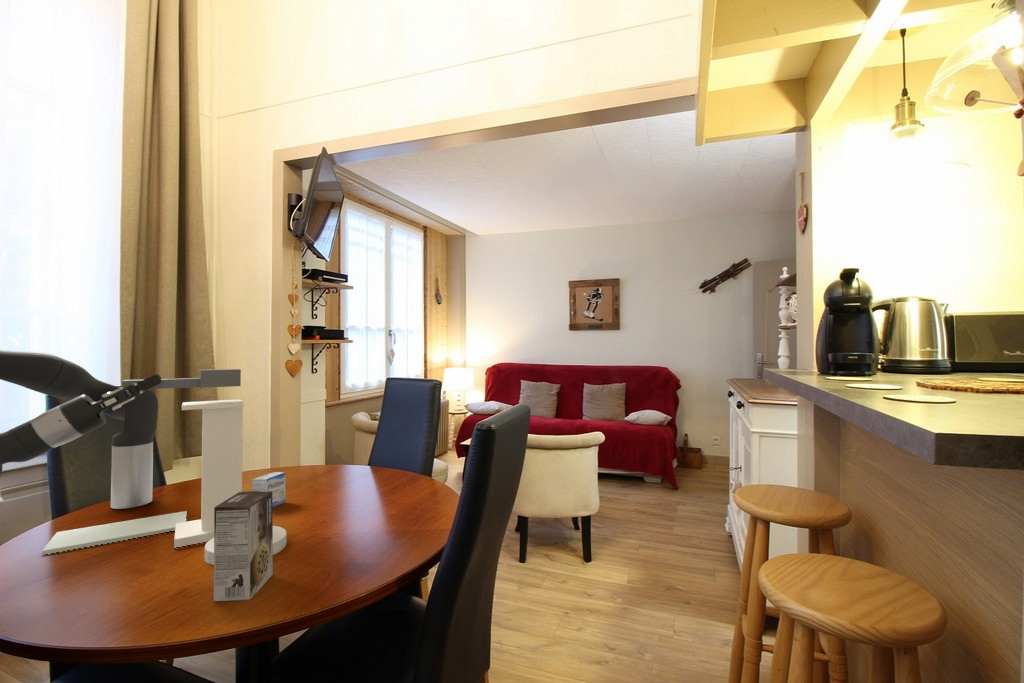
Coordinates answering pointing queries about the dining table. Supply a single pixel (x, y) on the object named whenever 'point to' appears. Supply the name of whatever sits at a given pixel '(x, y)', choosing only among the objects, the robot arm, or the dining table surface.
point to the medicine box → (272, 486)
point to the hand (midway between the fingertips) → (159, 377)
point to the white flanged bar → (215, 465)
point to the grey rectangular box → (242, 545)
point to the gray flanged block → (199, 380)
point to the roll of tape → (278, 544)
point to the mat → (113, 532)
